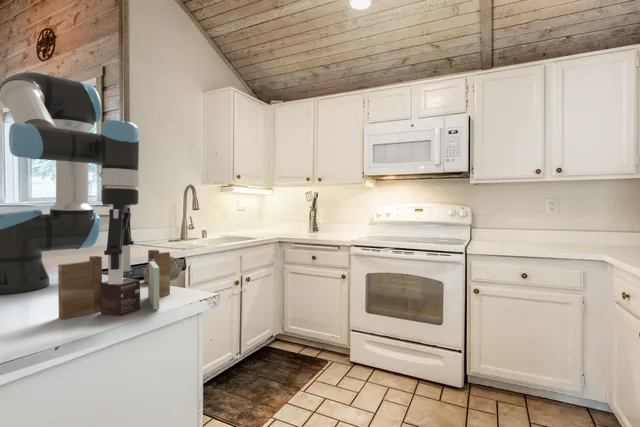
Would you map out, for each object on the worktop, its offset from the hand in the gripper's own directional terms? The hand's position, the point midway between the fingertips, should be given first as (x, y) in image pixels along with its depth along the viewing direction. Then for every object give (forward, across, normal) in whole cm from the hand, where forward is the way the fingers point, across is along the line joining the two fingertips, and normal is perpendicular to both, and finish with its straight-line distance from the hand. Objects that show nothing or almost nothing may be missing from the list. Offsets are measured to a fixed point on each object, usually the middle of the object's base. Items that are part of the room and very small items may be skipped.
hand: (120, 276), depth 82 cm
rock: (+9, -32, +9) cm, 35 cm away
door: (+8, -2, +7) cm, 11 cm away
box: (+8, +1, 0) cm, 9 cm away
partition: (+8, -6, -1) cm, 10 cm away
